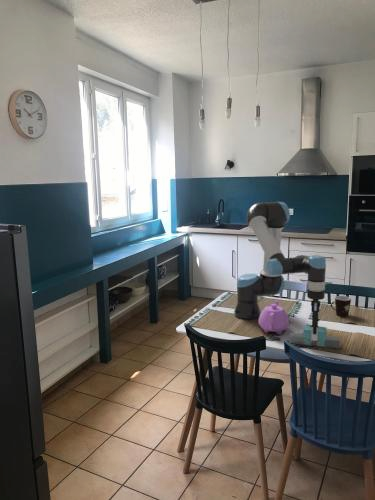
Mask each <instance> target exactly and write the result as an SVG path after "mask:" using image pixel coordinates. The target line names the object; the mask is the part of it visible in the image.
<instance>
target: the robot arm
mask: <svg viewBox="0 0 375 500" xmlns="http://www.w3.org/2000/svg"><path fill="white" fill-rule="evenodd" d="M290 218H291V212H290V209H289V207H288V204H286V203H285V202H283V201H267V202H266V201H265V202H256V203H253V205H251V207H250V208H249V209H248V211H247V213H246V223H247V226H248V228H249V230H251V231H253V233H254V235H255V237H256V239H257V241H258V243H259V245H260V247H261V248H262V251H263V266H262V267H263V269H261V270H260V271H259V272H260V273H259V274H260V275H258V274H257V273H245V274H242V275H239V276H238V277H237V282H236V289H237V296H236V297H237V300H236V301H237V302H236V303H235V307H234V311H233V314H234V316H235V317H236V316H237V317H236V318H238V317H239V319H241V318H245V319H244V320H255V319H259V317H260V314H261V313H262V311H261V308H260V305H259V297H268V296H269V297H270V296H277V295H280V294H281V293H282V292H283V291H284V288H285V279H284V276H283V275H290V274H302V273H304V274H306V275H307V289H306V290H307V292H306V293H307V294H306V296H307V298H308V299H309V300H311V301H310V306H311V313H312V319H311V325H309V326H310V327H312V334H311V339H310V341H311V340H315V341H317V342H319V340H318V327H319V322H320V318H319V313H320V306H321V301H320V300H323V299H325V297H326V295H325V294H326V292H325V289H326V287H325V286H326V285H327V282H326V268H327V264H326V257H325V256H324V255H319V254H318V255H317V254H314V255H309V256H306V255H296V256H295V257H285V254H283V252H282V249H281V243H282V242H281V241H282V230H283V229H284V228H286V227H285V226H286V224H287V223H288V222H290Z"/></svg>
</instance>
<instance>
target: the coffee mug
mask: <svg viewBox="0 0 375 500" xmlns="http://www.w3.org/2000/svg"><path fill="white" fill-rule="evenodd" d="M351 302H352V298H351V297H349V296H345V295H337V296H334V301H332V302H331V303H330V308H331V309H332V310H334V311H335V315H336V316H337V317H339V316H340V318H347V317H349V313H350V308H351ZM334 303H335V304H334ZM333 305H334V306H335V308H334V307H333Z"/></svg>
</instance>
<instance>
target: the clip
mask: <svg viewBox="0 0 375 500" xmlns="http://www.w3.org/2000/svg"><path fill="white" fill-rule="evenodd" d="M310 326H311V325H303V330H302V331H303V333H302V334H303V338H304V341H305V344H306V345H310V342H311V334H312V327H310ZM326 336H327V326H318V342H319V346H323V345H324V343H325V340H326ZM306 345H305V346H306Z"/></svg>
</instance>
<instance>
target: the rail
mask: <svg viewBox="0 0 375 500" xmlns="http://www.w3.org/2000/svg"><path fill="white" fill-rule="evenodd" d="M340 341H341V340H340V337H339V336H329V335H326V340H324V345H323V346H319V341H315V340H311V339H310V345H306V344H305V338H303V333H301V332H300V333H299V332H290V333H289V343H290V342H291V343H292V344H291V345H297V346H299V345H300V346H309V347H318V348H325V349H335V350H339V349H340V344H341V343H340Z"/></svg>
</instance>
